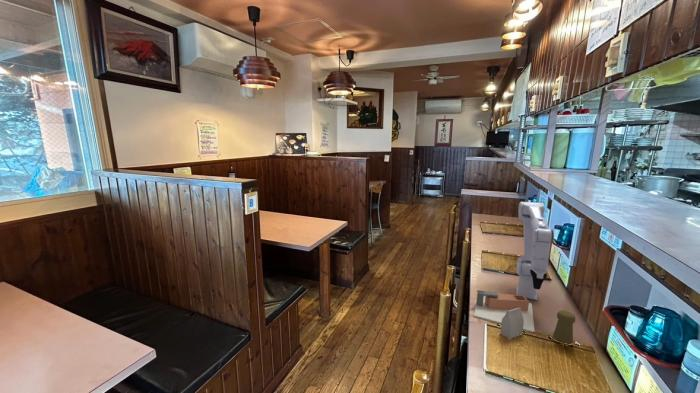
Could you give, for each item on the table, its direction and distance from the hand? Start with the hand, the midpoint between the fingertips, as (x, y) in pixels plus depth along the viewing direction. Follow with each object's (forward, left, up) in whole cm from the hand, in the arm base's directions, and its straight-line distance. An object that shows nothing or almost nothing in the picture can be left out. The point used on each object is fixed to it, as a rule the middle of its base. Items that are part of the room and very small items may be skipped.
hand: (536, 288), depth 118 cm
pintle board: (+5, -11, -10) cm, 16 cm away
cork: (+16, +8, -11) cm, 21 cm away
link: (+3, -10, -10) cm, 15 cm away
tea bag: (+21, -8, -11) cm, 25 cm away
